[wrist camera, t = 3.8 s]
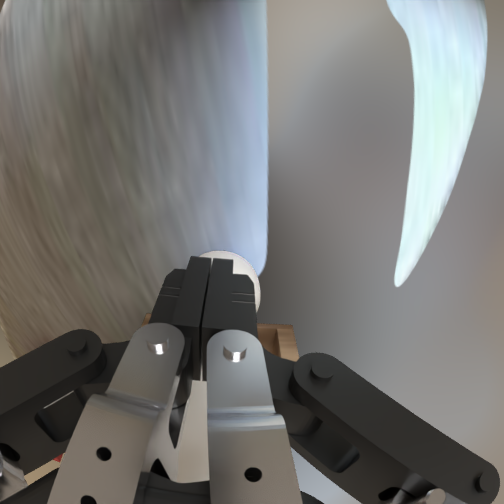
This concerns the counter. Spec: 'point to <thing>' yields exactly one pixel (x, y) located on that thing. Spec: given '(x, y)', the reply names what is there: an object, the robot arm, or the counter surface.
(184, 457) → the bottle
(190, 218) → the counter surface
